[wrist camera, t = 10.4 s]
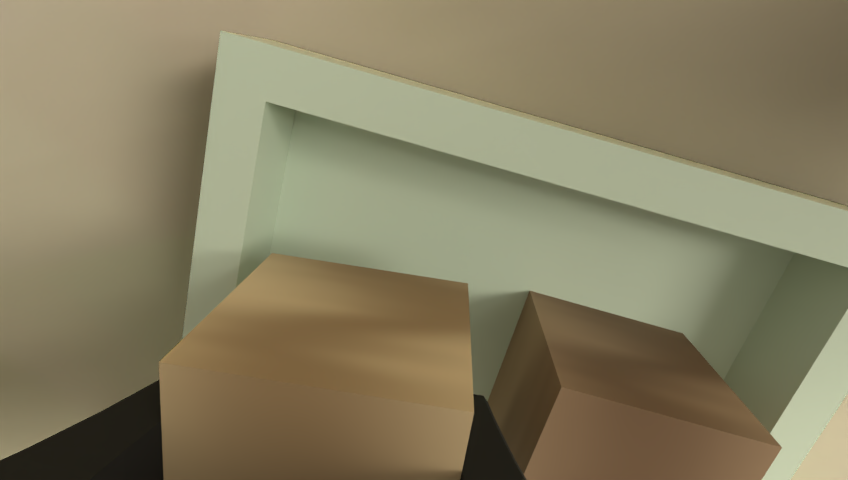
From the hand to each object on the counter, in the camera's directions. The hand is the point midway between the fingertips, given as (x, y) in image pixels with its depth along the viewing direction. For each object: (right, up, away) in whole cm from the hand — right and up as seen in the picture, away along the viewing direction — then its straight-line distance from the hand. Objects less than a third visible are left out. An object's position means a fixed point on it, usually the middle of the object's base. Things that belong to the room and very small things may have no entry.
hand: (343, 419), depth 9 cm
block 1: (0, +1, +1) cm, 2 cm away
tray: (+3, +1, +4) cm, 5 cm away
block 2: (+5, 0, +4) cm, 7 cm away
